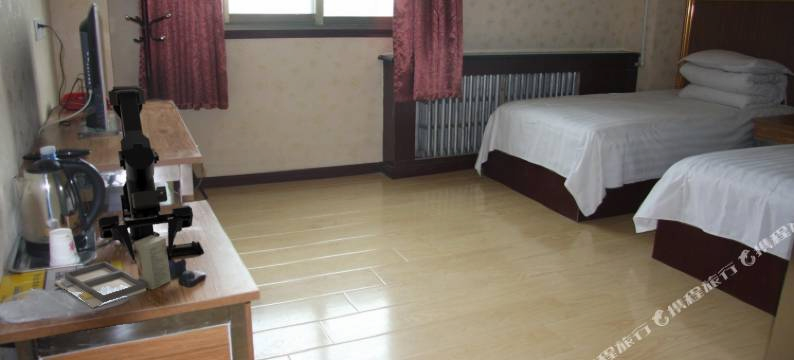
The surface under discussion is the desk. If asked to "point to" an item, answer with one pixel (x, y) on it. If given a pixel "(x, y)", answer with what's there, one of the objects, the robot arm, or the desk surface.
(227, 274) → the desk surface
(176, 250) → the electric trimmer
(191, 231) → the desk surface
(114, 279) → the divided tray
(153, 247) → the skincare box
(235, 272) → the desk surface
